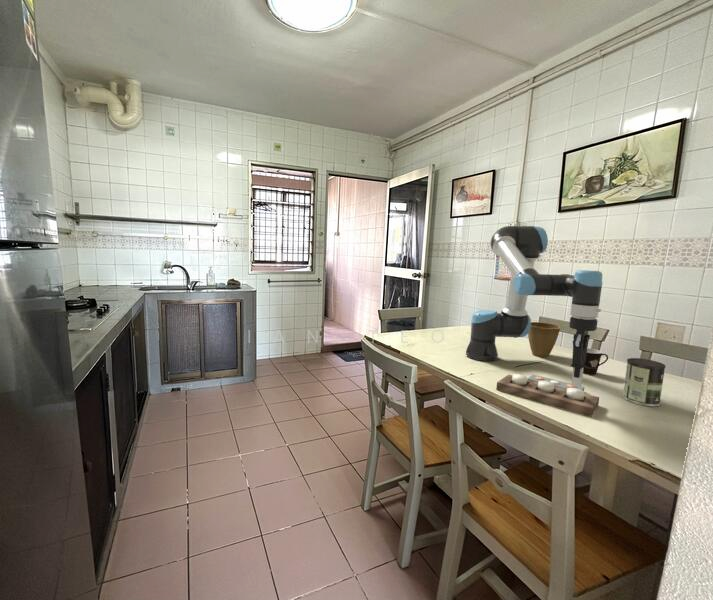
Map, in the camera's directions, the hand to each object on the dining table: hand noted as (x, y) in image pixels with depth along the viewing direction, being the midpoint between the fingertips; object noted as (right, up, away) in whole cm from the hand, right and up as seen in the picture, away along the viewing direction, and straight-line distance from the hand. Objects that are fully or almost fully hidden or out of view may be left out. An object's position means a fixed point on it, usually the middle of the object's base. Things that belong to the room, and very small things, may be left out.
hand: (576, 385), depth 113 cm
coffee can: (+27, -7, +6) cm, 29 cm away
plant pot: (+21, 0, +60) cm, 63 cm away
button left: (-13, -2, +13) cm, 19 cm away
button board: (-7, -6, +7) cm, 11 cm away
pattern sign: (+2, -5, +16) cm, 17 cm away
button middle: (-7, -3, +7) cm, 10 cm away
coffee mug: (+29, -3, +34) cm, 45 cm away
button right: (0, -4, +1) cm, 4 cm away
